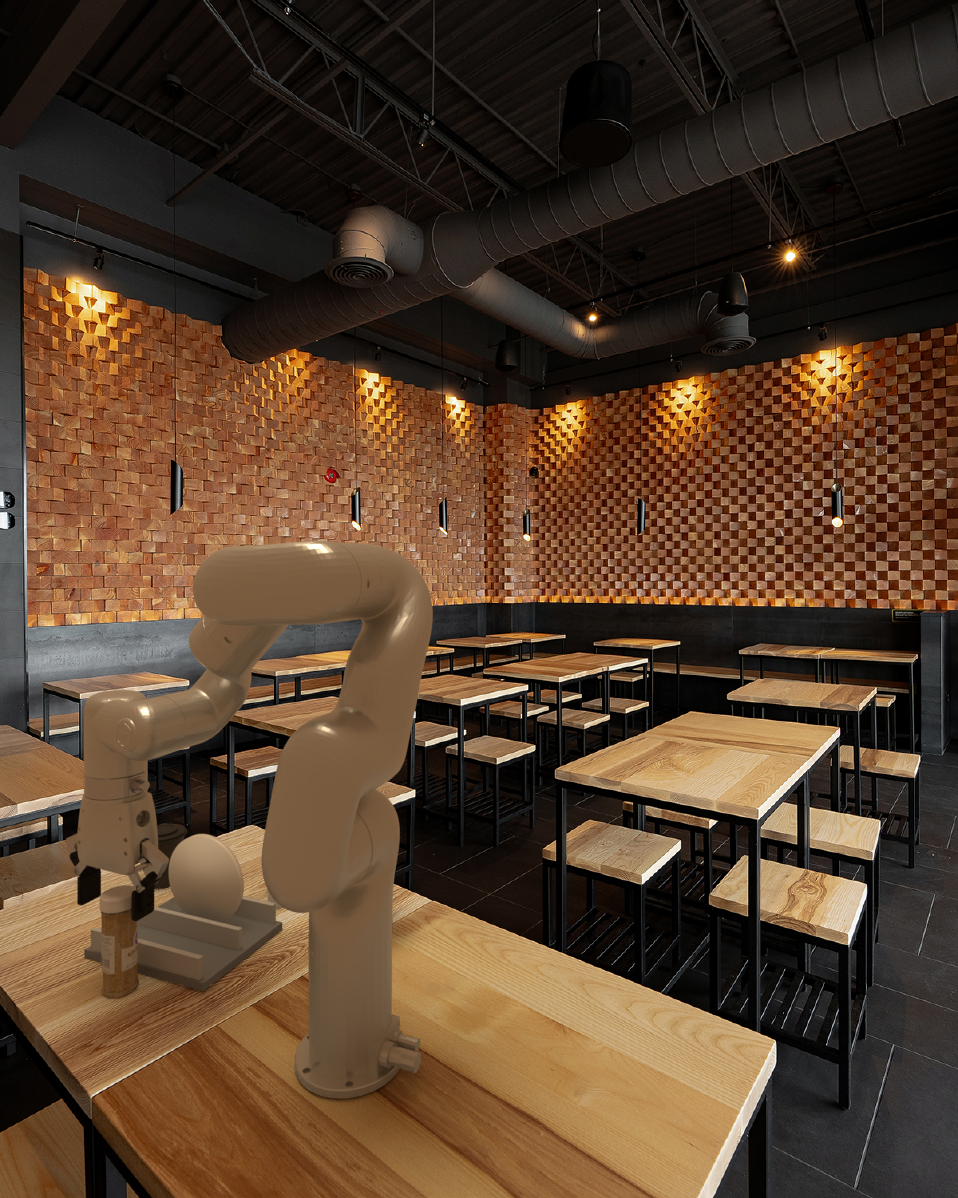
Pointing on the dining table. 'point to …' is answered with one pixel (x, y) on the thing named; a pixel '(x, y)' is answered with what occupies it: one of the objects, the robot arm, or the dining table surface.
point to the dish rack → (200, 919)
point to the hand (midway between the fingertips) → (115, 908)
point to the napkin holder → (272, 900)
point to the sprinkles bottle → (118, 942)
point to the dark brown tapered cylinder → (168, 846)
